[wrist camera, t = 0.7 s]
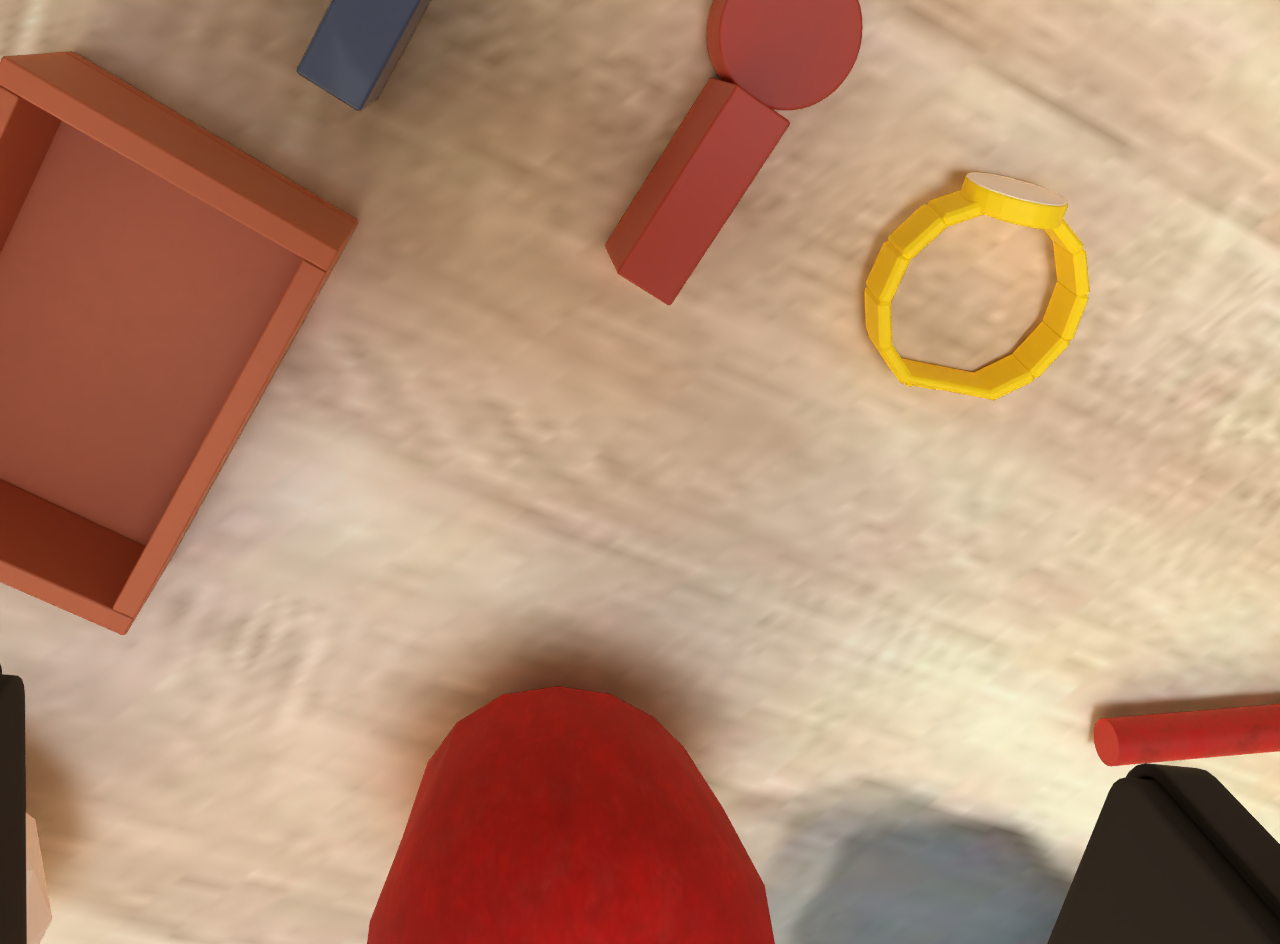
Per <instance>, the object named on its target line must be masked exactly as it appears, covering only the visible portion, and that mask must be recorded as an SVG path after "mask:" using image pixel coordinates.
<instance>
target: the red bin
mask: <svg viewBox="0 0 1280 944" xmlns="http://www.w3.org/2000/svg"><path fill="white" fill-rule="evenodd" d="M357 224H358V220H357V219H355V218H354V217H352V216H350V215H349V214H347V213H345V212H344V211H342V210H340V209H338V208H337V207H335V206H333V205H332V204H330V203H328V202H327V201H325V200H323V199H322V198H320V197H318V196H316V195H315V194H313V193H311V192H310V191H308V190H306V189H305V188H303V187H301V186H300V185H298V184H296V183H295V182H293V181H291V180H289V179H288V178H286V177H284V176H283V175H281V174H279V173H278V172H276V171H274V170H273V169H271V168H269V167H267V166H266V165H264V164H262V163H261V162H259V161H257V160H256V159H254V158H252V157H251V156H249V155H247V154H246V153H244V152H242V151H240V150H239V149H237V148H235V147H234V146H232V145H230V144H229V143H227V142H225V141H224V140H222V139H220V138H218V137H217V136H215V135H213V134H212V133H210V132H208V131H207V130H205V129H203V128H202V127H200V126H198V125H197V124H195V123H193V122H191V121H190V120H188V119H186V118H185V117H183V116H181V115H180V114H178V113H176V112H175V111H173V110H171V109H169V108H168V107H166V106H164V105H163V104H161V103H159V102H158V101H156V100H154V99H153V98H151V97H149V96H148V95H146V94H144V93H142V92H141V91H139V90H137V89H136V88H134V87H132V86H131V85H129V84H127V83H126V82H124V81H122V80H120V79H119V78H117V77H115V76H114V75H112V74H110V73H109V72H107V71H105V70H104V69H102V68H100V67H99V66H97V65H95V64H93V63H92V62H90V61H88V60H87V59H85V58H83V57H82V56H80V55H78V54H77V53H75V52H72V51H71V52H56V53H43V54H30V55H17V56H4V57H3V58H2V59H1V62H0V582H2V583H4V584H6V585H8V586H11V587H13V588H15V589H18V590H20V591H22V592H25V593H27V594H29V595H31V596H34V597H36V598H38V599H41V600H43V601H45V602H48V603H50V604H52V605H54V606H57V607H59V608H61V609H64V610H66V611H68V612H71V613H73V614H75V615H77V616H80V617H82V618H84V619H87V620H89V621H91V622H94V623H96V624H98V625H100V626H103V627H105V628H107V629H110V630H112V631H114V632H116V633H119V634H121V635H125V634H126V633H127V632H128V630H129V628H130V627H131V625H132V623H133V622H134V620H135V618H136V617H137V615H138V613H139V612H140V610H141V608H142V607H143V605H144V603H145V602H146V600H147V598H148V597H149V595H150V593H151V592H152V590H153V588H154V587H155V585H156V583H157V582H158V580H159V578H160V577H161V575H162V573H163V572H164V570H165V569H166V567H167V565H168V564H169V562H170V560H171V558H172V556H173V555H174V553H175V551H176V549H177V547H178V546H179V544H180V542H181V540H182V538H183V537H184V535H185V533H186V531H187V529H188V528H189V526H190V524H191V522H192V520H193V519H194V517H195V515H196V513H197V511H198V510H199V508H200V506H201V504H202V503H203V501H204V499H205V497H206V495H207V494H208V492H209V490H210V488H211V486H212V485H213V483H214V481H215V479H216V477H217V476H218V474H219V472H220V470H221V468H222V467H223V465H224V463H225V461H226V459H227V458H228V456H229V454H230V452H231V450H232V449H233V447H234V445H235V443H236V442H237V440H238V438H239V436H240V434H241V433H242V431H243V429H244V427H245V425H246V424H247V422H248V420H249V418H250V416H251V415H252V413H253V411H254V409H255V407H256V406H257V404H258V402H259V400H260V398H261V397H262V395H263V393H264V391H265V389H266V388H267V386H268V384H269V382H270V380H271V379H272V377H273V375H274V373H275V372H276V370H277V368H278V366H279V364H280V363H281V361H282V359H283V357H284V355H285V354H286V352H287V350H288V348H289V346H290V345H291V343H292V341H293V339H294V337H295V336H296V334H297V332H298V330H299V328H300V327H301V325H302V323H303V321H304V319H305V318H306V316H307V314H308V312H309V310H310V309H311V307H312V305H313V303H314V302H315V300H316V298H317V296H318V294H319V293H320V291H321V289H322V287H323V285H324V284H325V282H326V280H327V278H328V276H329V275H330V273H331V271H332V269H333V267H334V266H335V264H336V262H337V260H338V258H339V257H340V255H341V253H342V251H343V249H344V248H345V246H346V244H347V242H348V241H349V239H350V237H351V235H352V233H353V232H354V230H355V228H356V226H357Z"/></svg>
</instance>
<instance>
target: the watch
mask: <svg viewBox="0 0 1280 944" xmlns="http://www.w3.org/2000/svg"><path fill="white" fill-rule="evenodd" d="M1067 208H1068V203H1067V200H1066V199H1064V198H1063V197H1062V196H1060V195H1058V194H1056V193H1054V192H1052V191H1050V190H1047V189H1045V188H1042V187H1040V186H1037V185H1034V184H1031V183H1028V182H1024V181H1021V180H1017V179H1013V178H1010V177H1005V176H1000V175H996V174H989V173H981V172H971V173H968V174H967V176H966V177H965V180H964V183H963V185H962V188H961V190H959V191H956V192H953V193H950V194H947V195H944V196H941V197H938V198H935V199H932V200H930V201H929V202H928V204H927V205H922V206H921V207H920V208H918V209H917V210H916V211H915V212H914V213H913V214H912V215H911V216H910V217H909V218H908V219H907V220H905V221H904V222H903V223H902V224H901V225H900V226H899V227H898V228H897V229H896V230H895V231H893V232H892V233H891V234H890V235H889V236H888V241H886V242H884V243H883V245H882V248H881V250H880V252H879V254H878V256H877V259H876V261H875V263H874V265H873V268H872V270H871V272H870V274H869V277H868V279H867V281H866V285H867V287H866V289H865V290H864V294H865V318H866V330H867V331H868V333H869V334H868V336H869V338H870V339H871V341H872V343H873V344H874V346H875V347H876V349H877V350H878V352H879V353H880V355H881V356H882V358H883V359H884V361H885V362H886V364H887V365H888V367H889V368H890V369H891V371H892V372H893V373H894V375H895V376H896V377H897V379H898V380H899V381H900V382H901V383H903V384H906V386H910V387H912V385H913V386H918V387H923V388H928V389H934V390H936V389H939V390H945V391H950V392H955V393H960V394H965V395H971V396H976V397H981V398H986V399H990V400H995V399H997V398H1000V397H1002V396H1004V395H1006V394H1008V393H1010V392H1012V391H1014V390H1016V389H1018V388H1020V387H1022V386H1024V385H1027V384H1029V383H1031V382H1032V381H1033V380H1034V378H1036V377H1039V376H1040V375H1041V374H1042V373H1043V372H1044V371H1045V370H1046V369H1047V368H1048V367H1049V366H1050V364H1051V363H1052V362H1053V361H1054V360H1055V359H1056V358H1057V357H1058V356H1059V355H1060V354H1061V353H1062V352H1063V351H1064V350H1065V349H1066V347H1067V346H1068V345H1069V341H1070V340H1071V339H1073V338H1074V335H1075V332H1076V330H1077V327H1078V325H1079V322H1080V319H1081V317H1082V314H1083V312H1084V309H1085V306H1086V304H1087V301H1088V299H1089V298H1088V296H1087V294H1088V293H1089V291H1090V288H1089V278H1088V268H1087V258H1086V251H1085V250H1083V244H1082V242H1081V241H1080V240H1079V239H1078V237H1077V236H1076V235H1075V233H1074V232H1073V231H1072V230H1071V228H1070V227H1069V226H1068V224H1067V223H1066V222H1065V221H1064V219H1063V218H1064V215H1065V213H1066V210H1067ZM984 214H985V215H987V216H990V217H993V218H996V219H999V220H1002V221H1006V222H1009V223H1013V224H1017V225H1021V226H1026V227H1031V228H1038V229H1044V231H1045V232H1046V233H1047V234H1048V236H1049V237H1050V238H1051V239H1052V241H1053V248H1054V257H1055V265H1056V274H1057V280H1058V281H1057V283H1056V285H1055V288H1054V291H1053V294H1052V296H1051V299H1050V302H1049V305H1048V307H1047V310H1046V313H1045V315H1044V318H1043V322H1041V323H1040V324H1039V325H1038V326H1037V328H1036V329H1035V330H1034V331H1033V332H1032V333H1031V334H1030V335H1029V336H1028V337H1027V338H1026V340H1025V341H1024V342H1023V343H1022V344H1021V345H1020V346H1019V347H1018V348H1017V349H1016V350H1015V351H1014V353H1013V355H1012V354H1011V355H1009V356H1007V357H1005V358H1003V359H1001V360H999V361H997V362H995V363H993V364H991V365H989V366H986V367H984V368H982V369H980V370H978V371H976V372H974V373H973V372H968V371H963V370H958V369H953V368H948V367H943V366H938V365H933V364H927V363H922V362H917V361H912V360H907V359H902V358H901V357H900V356H899V354H898V353H897V351H896V350H895V348H894V346H893V345H892V322H891V303H890V302H891V301H892V299H893V297H894V295H895V293H896V291H897V288H898V286H899V284H900V282H901V280H902V278H903V275H904V273H905V271H906V269H907V267H908V265H909V262H910V260H911V259H912V258H913V257H915V256H916V255H917V254H918V253H919V252H920V251H921V250H922V249H923V248H925V247H926V246H927V245H928V244H929V243H930V242H931V241H932V240H933V239H935V238H936V237H937V236H938V235H939V234H940V233H941V232H942V231H943V230H944V229H946V228H947V226H948V227H949V226H951V225H954V224H957V223H960V222H963V221H966V220H969V219H972V218H975V217H978V216H981V215H984Z"/></svg>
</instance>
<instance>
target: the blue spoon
mask: <svg viewBox="0 0 1280 944" xmlns="http://www.w3.org/2000/svg"><path fill="white" fill-rule="evenodd" d="M430 1H431V0H332V1H331V3H330V5H329V7H328V9H327V11H326V13H325V15H324V17H323V19H322V21H321V22H320V24H319V26H318V28H317V30H316V32H315V34H314V36H313V38H312V40H311V42H310V44H309V46H308V48H307V49H306V51H305V53H304V55H303V57H302V59H301V61H300V63H299V65H298V67H297V73H298V74H299V75H301V76H302V77H304V78H306V79H307V80H309V81H310V82H312V83H314V84H315V85H317V86H318V87H320V88H322V89H323V90H325V91H326V92H328V93H330V94H331V95H333V96H334V97H336V98H338V99H339V100H341V101H342V102H344V103H346V104H347V105H349V106H350V107H352V108H354V109H355V110H357V111H361V110H362V109H364V108H365V107H367V106H368V105H370V104H371V103H373V102H374V101H376V100H377V99H378V97H379V95H380V93H381V91H382V89H383V88H384V86H385V84H386V82H387V80H388V78H389V77H390V75H391V73H392V71H393V69H394V67H395V66H396V64H397V62H398V60H399V58H400V56H401V55H402V53H403V51H404V49H405V47H406V45H407V44H408V42H409V40H410V38H411V36H412V34H413V32H414V31H415V29H416V27H417V25H418V23H419V21H420V20H421V18H422V16H423V14H424V12H425V10H426V9H427V7H428V5H429V3H430Z"/></svg>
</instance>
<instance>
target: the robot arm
mask: <svg viewBox="0 0 1280 944" xmlns="http://www.w3.org/2000/svg"><path fill="white" fill-rule="evenodd" d="M0 944H27V902H26V773H25V691H24V684H23V681H22V679H21V678H20V677H19V676H15V675H4V674H2V668H1V665H0ZM1047 944H1280V844H1279V843H1278V842H1277V841H1276V840H1275V839H1274V838H1273V837H1272V836H1271V835H1270V834H1269V833H1268V832H1267V831H1266V829H1265V828H1264V827H1263V826H1262V825H1261V824H1260V823H1259V822H1258V821H1257V820H1256V819H1255V818H1254V817H1253V816H1252V815H1251V814H1250V813H1249V812H1248V811H1247V810H1246V809H1245V808H1244V807H1243V806H1242V805H1241V803H1240V802H1239V801H1238V800H1237V799H1236V798H1235V797H1234V796H1233V795H1232V794H1231V793H1230V792H1229V791H1228V790H1227V789H1226V788H1225V787H1224V786H1223V785H1222V784H1221V783H1220V782H1219V781H1218V780H1217V779H1216V778H1215V777H1214V776H1213V775H1211V774H1210V773H1209V772H1207V771H1206V770H1202V769H1198V768H1189V767H1179V766H1168V765H1158V764H1147V763H1145V764H1141V765H1137V766H1135V767H1134V768H1133V769H1132V770H1131V771H1129V773H1128V774H1127V776H1126V778H1122V779H1119V780H1117V781H1116V782H1115V783H1114V784H1113V786H1112V787H1111V789H1110V791H1109V793H1108V795H1107V798H1106V800H1105V803H1104V805H1103V808H1102V810H1101V813H1100V815H1099V818H1098V820H1097V823H1096V825H1095V828H1094V830H1093V832H1092V835H1091V837H1090V840H1089V842H1088V845H1087V847H1086V850H1085V852H1084V855H1083V857H1082V860H1081V862H1080V864H1079V867H1078V869H1077V872H1076V874H1075V877H1074V879H1073V882H1072V884H1071V887H1070V889H1069V892H1068V894H1067V896H1066V899H1065V901H1064V904H1063V906H1062V909H1061V911H1060V914H1059V916H1058V919H1057V921H1056V924H1055V926H1054V929H1053V931H1052V933H1051V936H1050V938H1049V941H1048V943H1047Z"/></svg>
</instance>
